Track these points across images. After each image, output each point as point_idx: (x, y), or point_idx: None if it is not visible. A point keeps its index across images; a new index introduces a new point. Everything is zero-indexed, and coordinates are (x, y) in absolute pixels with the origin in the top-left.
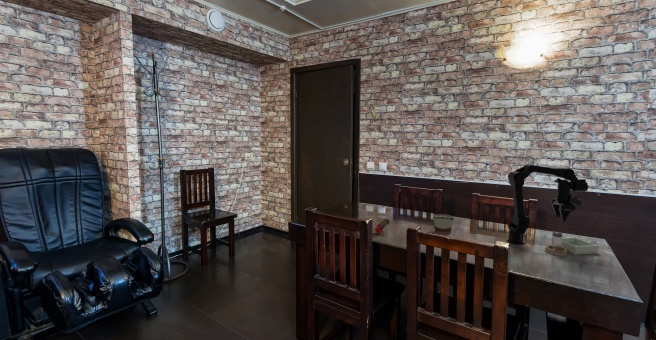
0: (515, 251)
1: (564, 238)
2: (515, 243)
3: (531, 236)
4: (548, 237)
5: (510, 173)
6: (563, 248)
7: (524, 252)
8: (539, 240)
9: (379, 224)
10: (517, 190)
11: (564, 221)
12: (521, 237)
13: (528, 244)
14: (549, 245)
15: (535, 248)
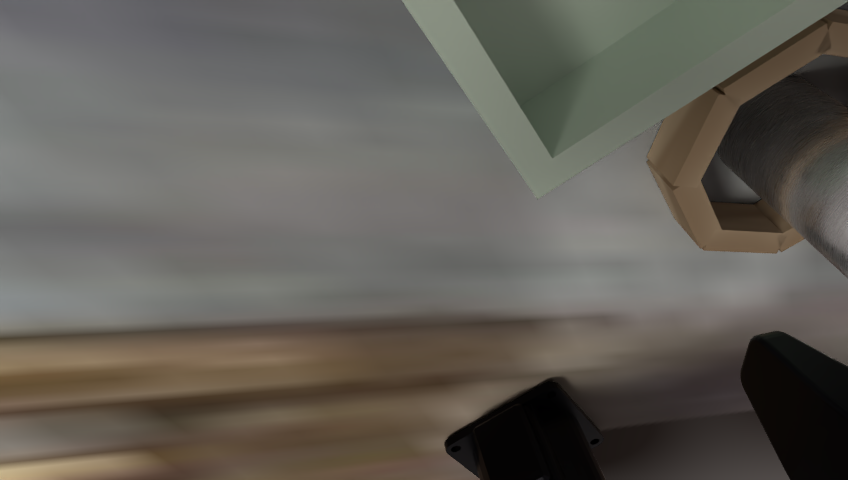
0: None
1: (472, 38)
2: (602, 436)
3: (163, 355)
4: (24, 172)
5: None
6: (801, 66)
7: None
8: (318, 275)
9: None
10: None
11: (771, 344)
12: (580, 461)
13: (553, 352)
14: (699, 215)
15: (675, 297)
